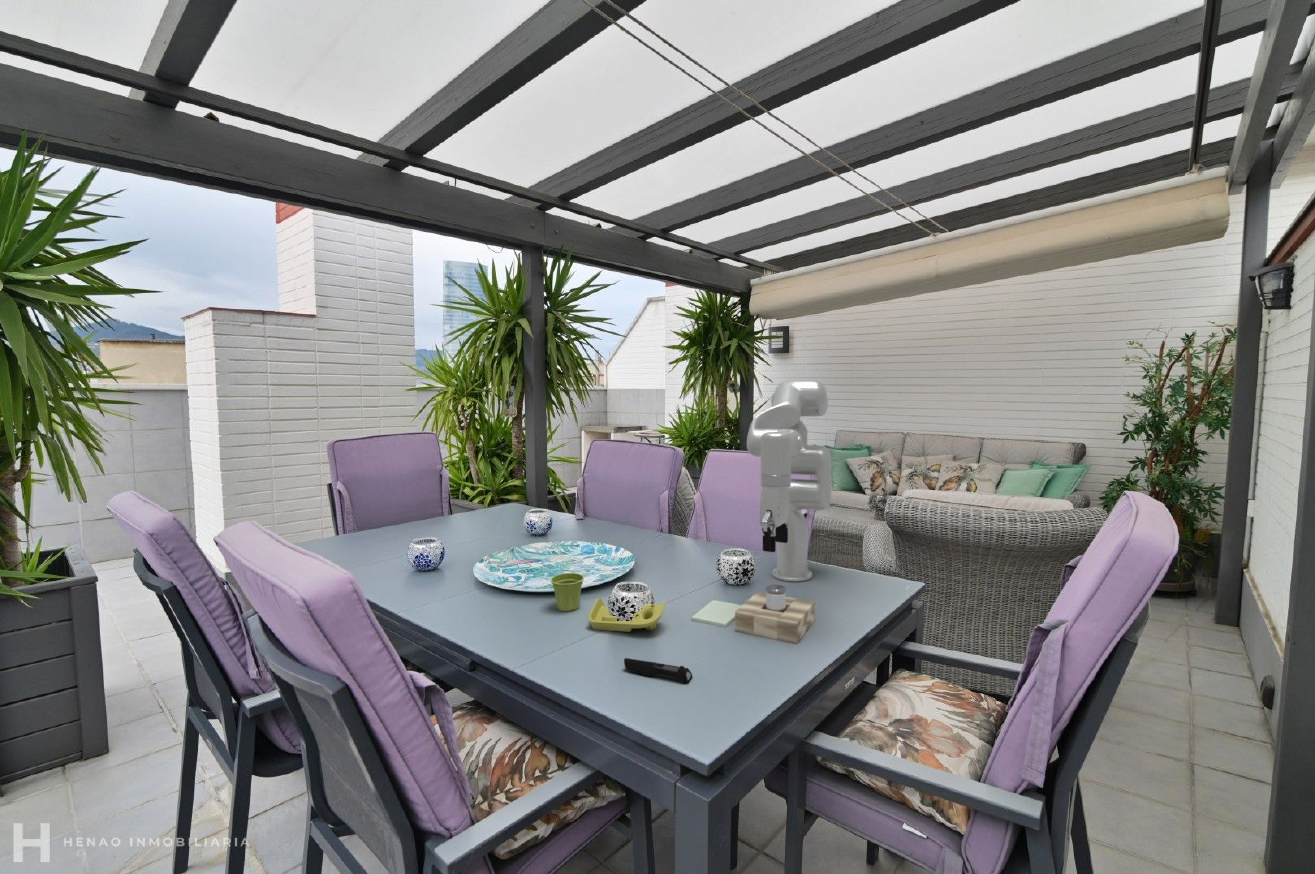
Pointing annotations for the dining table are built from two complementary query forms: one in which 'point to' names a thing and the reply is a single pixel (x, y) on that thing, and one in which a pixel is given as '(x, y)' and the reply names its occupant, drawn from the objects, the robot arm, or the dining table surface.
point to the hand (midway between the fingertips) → (775, 546)
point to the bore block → (775, 618)
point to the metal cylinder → (776, 598)
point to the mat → (717, 613)
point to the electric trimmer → (659, 670)
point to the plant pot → (567, 590)
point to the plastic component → (605, 621)
